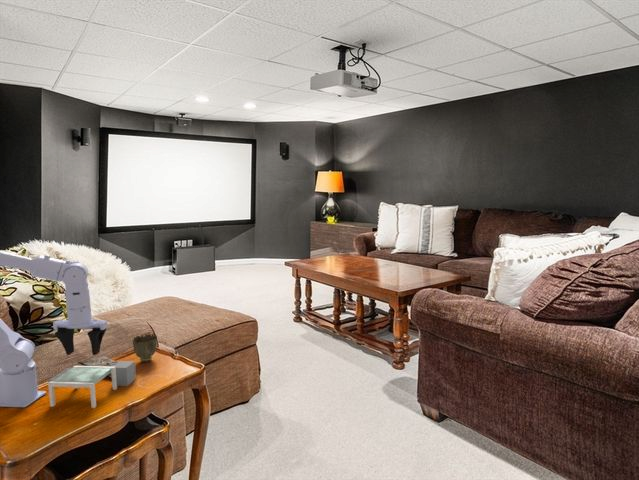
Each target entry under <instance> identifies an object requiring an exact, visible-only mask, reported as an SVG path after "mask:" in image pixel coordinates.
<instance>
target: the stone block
mask: <svg viewBox="0 0 639 480" xmlns="http://www.w3.org/2000/svg"><path fill="white" fill-rule="evenodd" d="M112 367H116V381H117V387H118V386H119V387H128V386H130V385H131V384H132V383H134V381H136V379H137V377H136V376H137V374H136V362H135V360H119V361H118V363H116V364H115V365H114V366H112Z"/></svg>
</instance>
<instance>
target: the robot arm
mask: <svg viewBox="0 0 639 480" xmlns="http://www.w3.org/2000/svg"><path fill="white" fill-rule="evenodd" d="M0 267H5V268H6V267H7V268H11V269H19V270H24V271H28V272H29V274H31V276H32V277H35V278H40V279H44V280H49V281H54V282H59V283H60V282H63V284H64V285H65V286H64V287H65V292H64V295H65V303H66V305H65V306H66V313H67V314H66V315H67V320H65V319H64V320H57V321H54V322H53V323H52V324H53V325H52V326H53V327H52V328H53V330H56V331H55V332H54V336H55V337H56V338H57V339H58V340H59V342H60V343H61V345H62V347H63V348H64V350H65V351H64V352H65V354H66V356H69V355H71V354H73V353H74V352H75V344H74V342H75V341H74V335H75V330H89V331H88V332H87V334H86V335H88V338H89V341H90V345H91V352H92V355H93V356H97V355H98V354H99V353H100V351H101V346H102V345H101V344H102V341H103V338H104V336H105V333H106V332H107V328H108V325H109V324H108V320H100V319H95V318H94V319H93V317H92V309H91V297H90V288H89V282H88V276H89V269H88V267H87V266H86V265H85V264H84V263H82V262H79V261H72V260H70V259H66V260H62V259H58V258H53V257H52V255H50V254H44V255H37V256H35V257H34V258H31V257H28V256H24V255H20V254H18V253H12V252H8V251H5V250H0ZM35 353H36V345H35V343H34V342H33V341H32V340H30V339H28V338H25V337H24V336H22V335H21V334H20V333H18V332H16V331H13V330H12V329H11V328H10V327H9V326H8V325H7V323H6V322H4V321H3V320H2V318H1V317H0V406H1V407H5V408H6V407H7V408H26V407H28V406H30V405H31V404H32V403H33V402H35V401H37V400H38V399H40V398H41V397H42V396H44V395H45V394H47V391H45V390H41V391H40V390H39V389H38V388H39V387H38V379H37V378H38V377H37V367H36V366H37V365H36V362H35V361H34V360H33V357H34V354H35Z"/></svg>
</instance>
